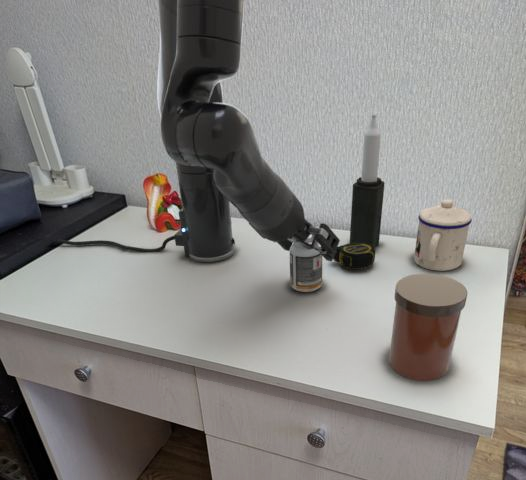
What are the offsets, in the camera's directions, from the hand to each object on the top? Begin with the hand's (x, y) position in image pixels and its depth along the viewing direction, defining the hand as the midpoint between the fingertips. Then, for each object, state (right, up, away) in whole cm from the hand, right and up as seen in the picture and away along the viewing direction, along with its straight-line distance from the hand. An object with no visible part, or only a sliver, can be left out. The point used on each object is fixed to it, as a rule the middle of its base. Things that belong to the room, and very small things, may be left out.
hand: (310, 250), depth 85 cm
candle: (+13, +4, +16) cm, 20 cm away
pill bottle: (0, -6, +3) cm, 7 cm away
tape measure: (+9, -1, +9) cm, 13 cm away
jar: (+13, -19, -17) cm, 29 cm away
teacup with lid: (+24, -1, +7) cm, 25 cm away
